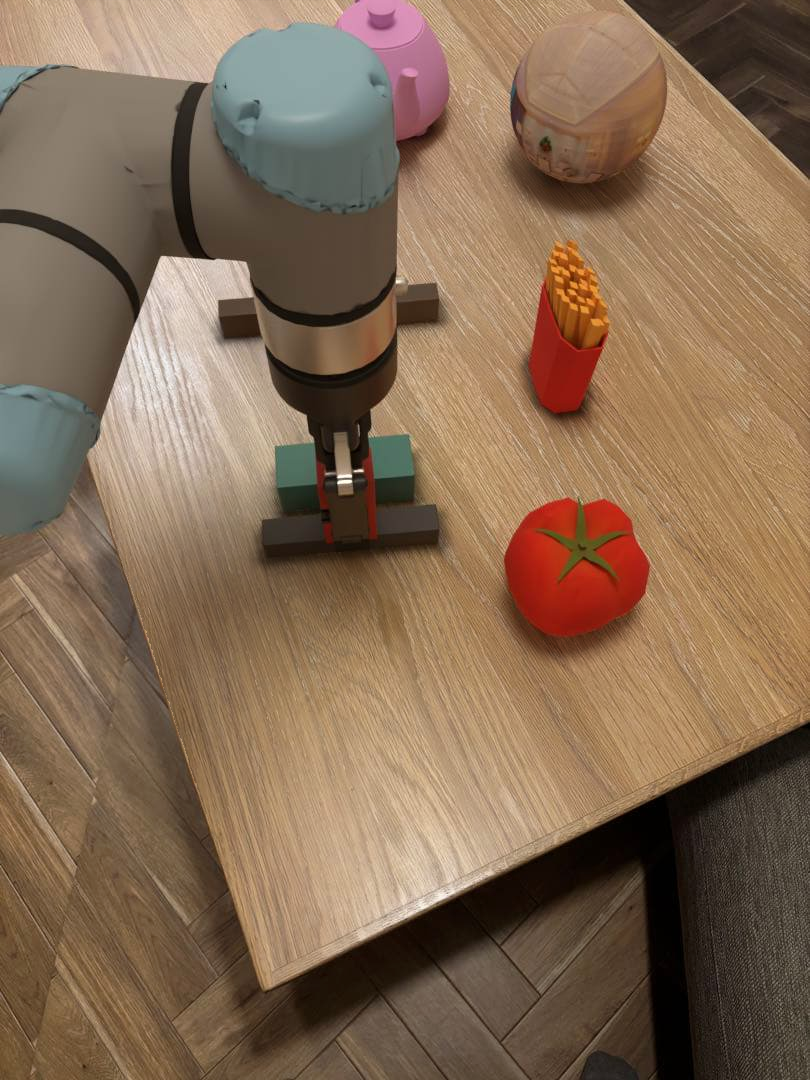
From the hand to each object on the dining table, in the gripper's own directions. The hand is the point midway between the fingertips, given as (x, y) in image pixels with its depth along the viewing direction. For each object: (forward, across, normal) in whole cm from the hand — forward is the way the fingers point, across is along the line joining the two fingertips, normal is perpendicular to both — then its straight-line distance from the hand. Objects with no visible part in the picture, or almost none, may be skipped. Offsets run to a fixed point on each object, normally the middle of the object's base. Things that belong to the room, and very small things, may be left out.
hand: (350, 526), depth 69 cm
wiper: (+2, 0, 0) cm, 2 cm away
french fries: (+2, +14, -20) cm, 24 cm away
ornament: (+2, +42, -27) cm, 50 cm away
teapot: (+2, +50, -8) cm, 51 cm away
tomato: (+2, -6, -17) cm, 18 cm away
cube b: (+2, +5, -4) cm, 6 cm away
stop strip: (+2, +23, 0) cm, 23 cm away
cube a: (+2, +5, +4) cm, 6 cm away
